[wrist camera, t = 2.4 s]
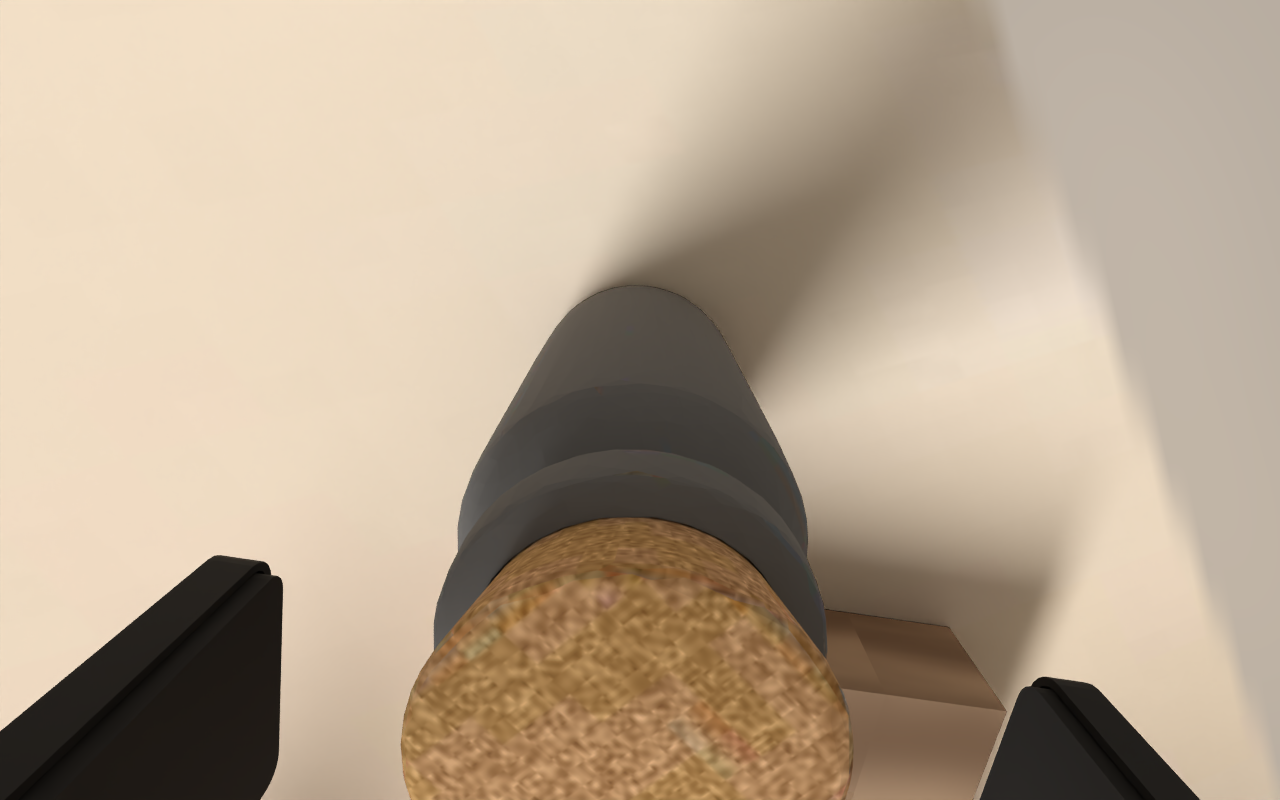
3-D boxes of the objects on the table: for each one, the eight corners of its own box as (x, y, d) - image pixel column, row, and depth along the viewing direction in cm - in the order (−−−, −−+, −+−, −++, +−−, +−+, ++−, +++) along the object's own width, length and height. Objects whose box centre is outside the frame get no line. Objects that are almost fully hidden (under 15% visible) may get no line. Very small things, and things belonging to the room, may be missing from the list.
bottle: (508, 329, 21) (226, 645, 7) (690, 252, 20) (805, 423, 6) (588, 493, 23) (498, 1030, 8) (759, 426, 22) (979, 888, 8)
